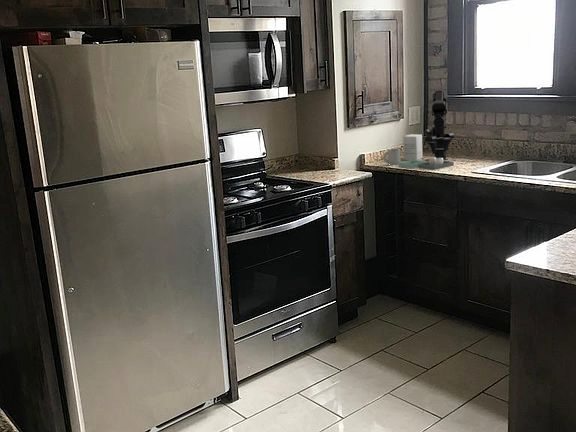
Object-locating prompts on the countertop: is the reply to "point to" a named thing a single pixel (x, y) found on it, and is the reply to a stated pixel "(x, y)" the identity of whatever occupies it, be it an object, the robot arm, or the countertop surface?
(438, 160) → the near stone
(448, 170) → the countertop surface
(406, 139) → the supplement box
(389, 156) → the cup
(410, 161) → the green bin
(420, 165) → the grey tray
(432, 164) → the far stone
